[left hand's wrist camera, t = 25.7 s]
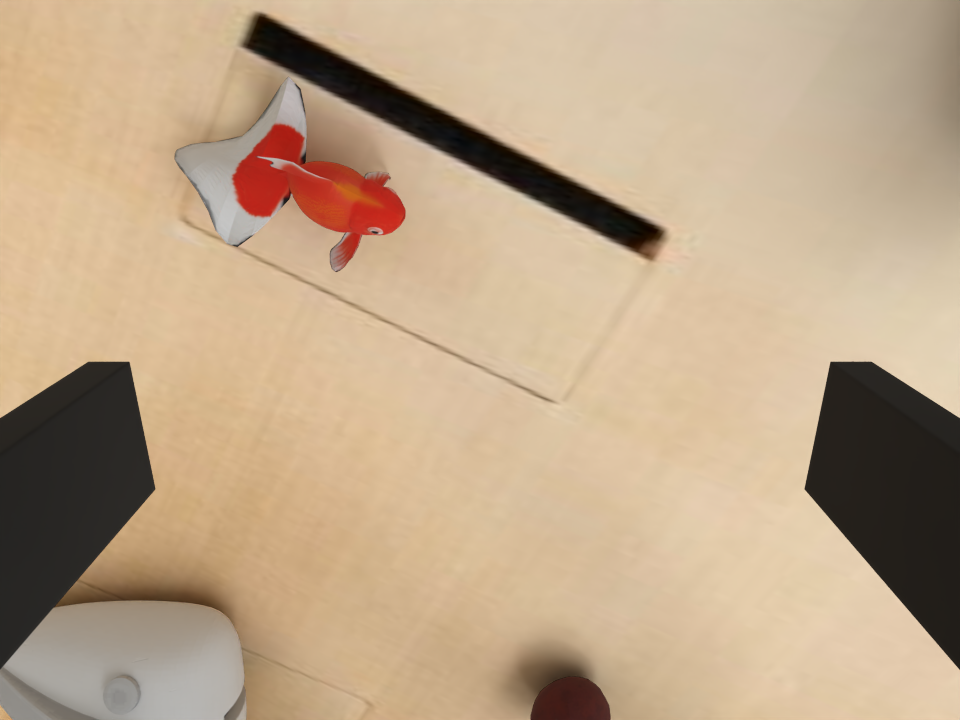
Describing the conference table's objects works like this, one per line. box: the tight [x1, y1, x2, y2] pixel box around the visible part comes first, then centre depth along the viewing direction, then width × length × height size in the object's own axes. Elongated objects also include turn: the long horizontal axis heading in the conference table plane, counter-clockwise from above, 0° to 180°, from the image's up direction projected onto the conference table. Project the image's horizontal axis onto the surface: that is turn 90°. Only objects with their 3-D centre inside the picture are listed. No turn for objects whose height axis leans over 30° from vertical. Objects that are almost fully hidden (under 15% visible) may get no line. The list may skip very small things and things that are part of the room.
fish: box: [175, 77, 405, 272], centre depth 43 cm, size 11×16×10 cm
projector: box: [0, 600, 247, 720], centre depth 55 cm, size 22×23×15 cm
